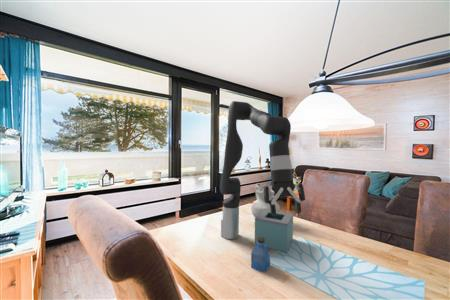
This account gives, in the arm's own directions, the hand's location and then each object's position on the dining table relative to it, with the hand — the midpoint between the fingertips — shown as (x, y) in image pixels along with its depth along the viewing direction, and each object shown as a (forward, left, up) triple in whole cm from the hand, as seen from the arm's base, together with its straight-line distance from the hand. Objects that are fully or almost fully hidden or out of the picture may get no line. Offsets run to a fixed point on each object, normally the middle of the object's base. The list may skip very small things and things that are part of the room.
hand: (286, 214), depth 73 cm
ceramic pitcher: (-26, +62, -28) cm, 73 cm away
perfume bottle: (-12, +10, -28) cm, 32 cm away
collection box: (-12, +35, -28) cm, 47 cm away
